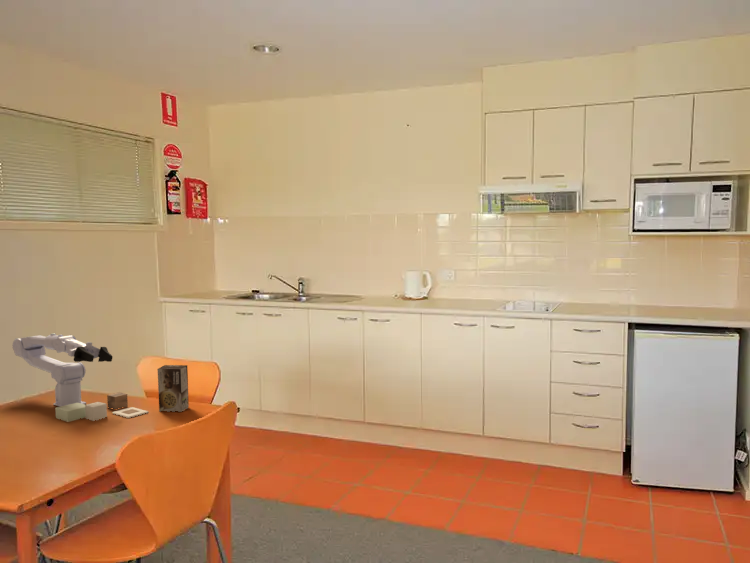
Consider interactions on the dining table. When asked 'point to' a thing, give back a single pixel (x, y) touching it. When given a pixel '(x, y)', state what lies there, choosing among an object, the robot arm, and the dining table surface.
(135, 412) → the card
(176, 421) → the dining table surface
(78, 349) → the robot arm
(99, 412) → the grey cube
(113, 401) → the walnut cube
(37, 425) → the dining table surface
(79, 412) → the base block
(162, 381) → the coffee box
